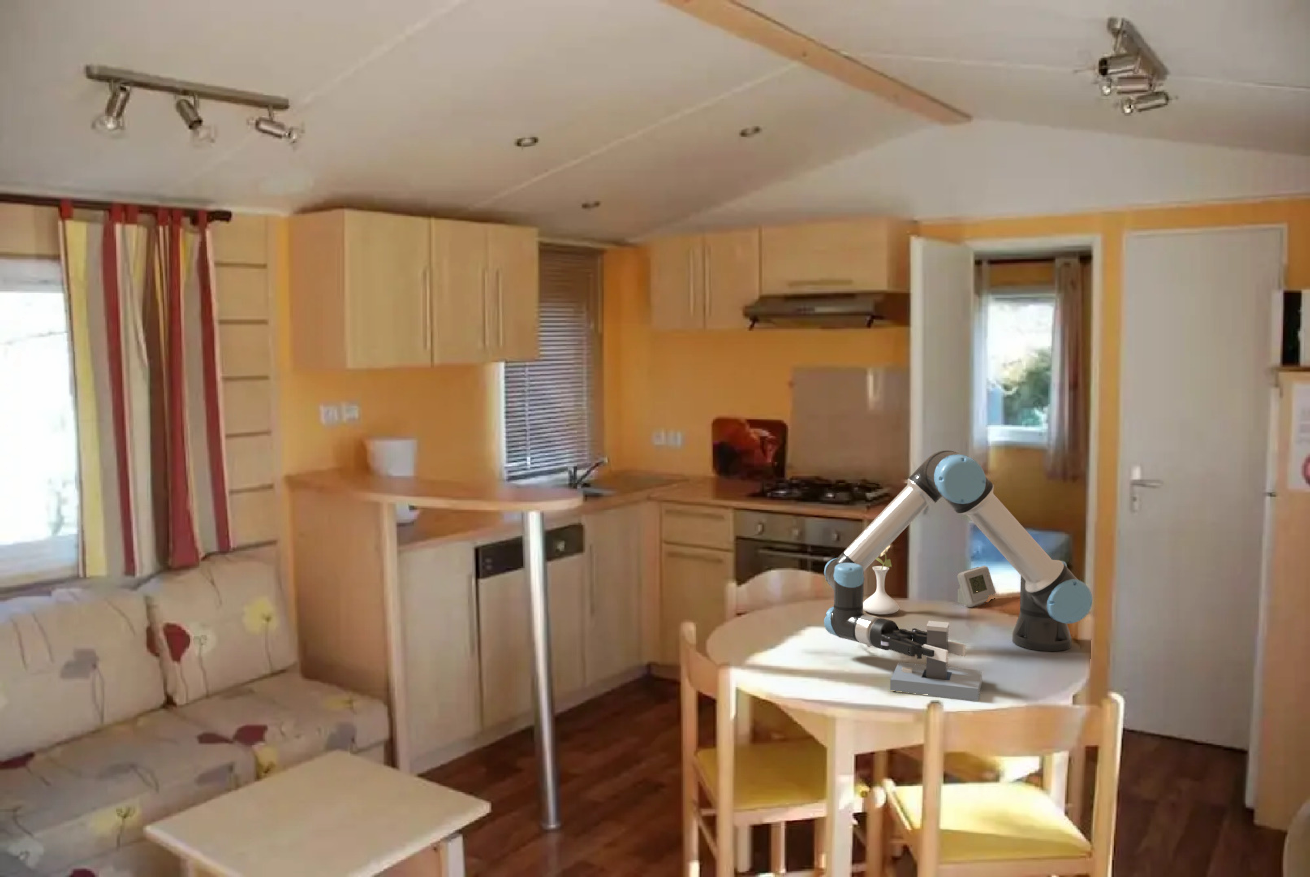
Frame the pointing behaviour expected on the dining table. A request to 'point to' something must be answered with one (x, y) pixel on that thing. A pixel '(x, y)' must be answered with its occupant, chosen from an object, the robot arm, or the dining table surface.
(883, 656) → the dining table surface
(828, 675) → the dining table surface
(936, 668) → the plug
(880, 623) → the robot arm
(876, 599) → the flower in vase
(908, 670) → the socket plate
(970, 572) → the digital clock
